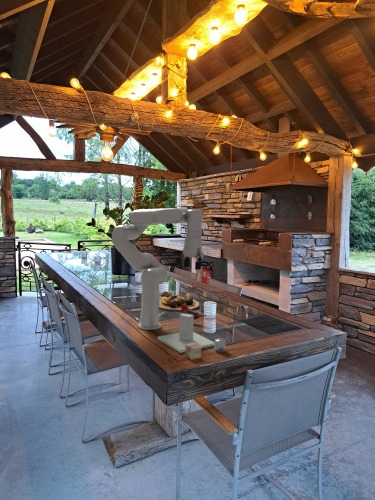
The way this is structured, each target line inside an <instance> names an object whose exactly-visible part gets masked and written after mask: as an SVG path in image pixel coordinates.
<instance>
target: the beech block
mask: <svg viewBox="0 0 375 500" xmlns="http://www.w3.org/2000/svg"><path fill="white" fill-rule="evenodd" d="M184 357H186V358H188V359H189V360H191V361H192V360H196V359H200V358H202V348H201V346H200V345H198V344H196V343H191V344H186V345H185V352H184Z"/></svg>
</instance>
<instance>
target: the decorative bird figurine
mask: <svg viewBox="0 0 375 500" xmlns="http://www.w3.org/2000/svg"><path fill="white" fill-rule="evenodd" d="M181 310H182V313H181V314H190V315H194V320H198V319H199V318H202V317H207V315H208V314H207V315H206V314H199V313H198V312H196V310H191V309H189V308H188V307H187V306H186V305H185V304H182V305H181Z"/></svg>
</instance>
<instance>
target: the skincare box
mask: <svg viewBox="0 0 375 500" xmlns="http://www.w3.org/2000/svg"><path fill="white" fill-rule="evenodd" d="M178 319H179V321H178V322H179V323H178V326H179V327H178V333H179V340H185V341H191V340H193V332H194V323H195V322H194V315H190V314H183V313H181V314H179V316H178Z"/></svg>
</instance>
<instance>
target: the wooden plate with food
mask: <svg viewBox="0 0 375 500" xmlns="http://www.w3.org/2000/svg"><path fill="white" fill-rule="evenodd" d="M185 294H186V295H184V297H183V296H179V294H173V295H170V292H169V291H167V290H164V291H163V292H162V293H161V297H159V310H162V311H166V312H176V313H177V312H180V313H181V312H182V310H181V305H182V304H185V305H186V306H187V307H188V308H189V309H191V310H193V311H196V310H197V309H199V308H200V303H199V302H198V301H197V300H195V299H194V296H193V295H192V294H191V293H190V292H186V293H185Z"/></svg>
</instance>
